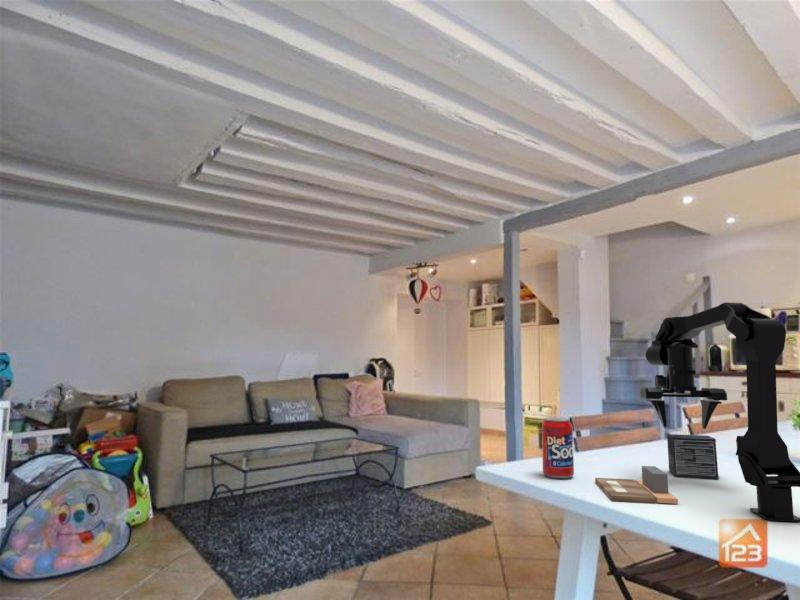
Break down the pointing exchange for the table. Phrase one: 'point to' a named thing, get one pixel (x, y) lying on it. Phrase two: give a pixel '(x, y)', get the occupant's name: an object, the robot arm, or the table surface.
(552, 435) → the soda can
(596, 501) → the table surface
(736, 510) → the table surface
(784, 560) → the table surface
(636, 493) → the brown flat board
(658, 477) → the stub
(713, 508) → the table surface
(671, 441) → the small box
